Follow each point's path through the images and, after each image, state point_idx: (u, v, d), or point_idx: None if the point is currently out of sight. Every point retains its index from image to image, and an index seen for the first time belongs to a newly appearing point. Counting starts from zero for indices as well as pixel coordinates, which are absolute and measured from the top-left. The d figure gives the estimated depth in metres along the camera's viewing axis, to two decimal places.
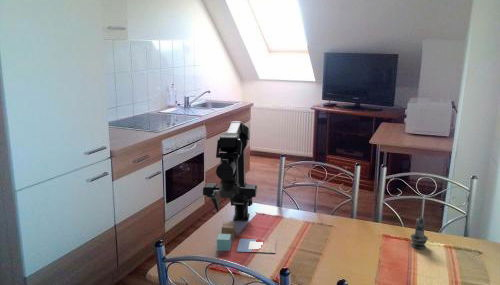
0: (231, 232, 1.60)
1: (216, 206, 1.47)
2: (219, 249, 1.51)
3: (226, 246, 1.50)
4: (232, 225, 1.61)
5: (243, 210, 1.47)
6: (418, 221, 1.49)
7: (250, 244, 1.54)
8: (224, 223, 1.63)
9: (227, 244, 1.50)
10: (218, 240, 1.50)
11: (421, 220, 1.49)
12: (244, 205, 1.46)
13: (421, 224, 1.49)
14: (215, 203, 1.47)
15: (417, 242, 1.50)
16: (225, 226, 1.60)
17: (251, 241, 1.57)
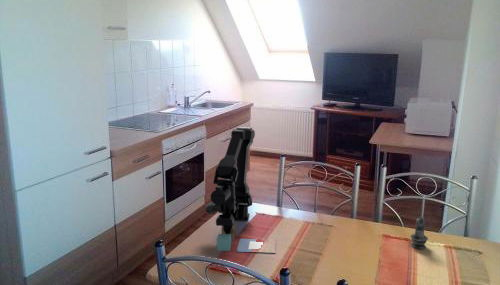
0: (231, 232, 1.60)
1: None
2: (219, 249, 1.51)
3: (226, 246, 1.50)
4: None
5: (225, 232, 1.60)
6: (418, 221, 1.49)
7: (250, 244, 1.54)
8: None
9: (227, 244, 1.50)
10: (218, 240, 1.50)
11: (421, 220, 1.49)
12: None
13: (421, 224, 1.49)
14: None
15: (417, 242, 1.50)
16: None
17: (251, 241, 1.57)
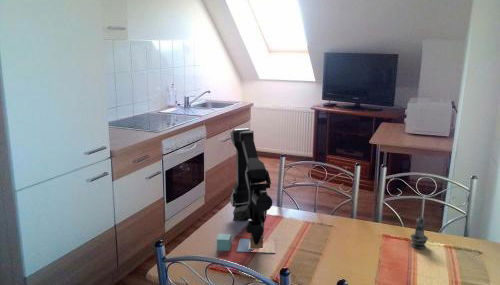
0: (260, 242, 1.51)
1: None
2: (219, 249, 1.51)
3: (226, 246, 1.50)
4: None
5: (254, 241, 1.49)
6: (418, 221, 1.49)
7: None
8: None
9: (227, 244, 1.50)
10: (218, 240, 1.50)
11: (421, 220, 1.49)
12: (252, 236, 1.49)
13: (421, 224, 1.49)
14: None
15: (417, 242, 1.50)
16: None
17: None
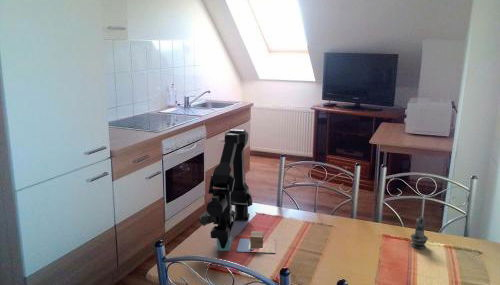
0: (260, 242, 1.51)
1: None
2: (219, 249, 1.51)
3: (226, 245, 1.50)
4: (261, 234, 1.52)
5: None
6: (418, 221, 1.49)
7: None
8: (252, 232, 1.54)
9: (227, 244, 1.50)
10: (218, 240, 1.50)
11: (421, 220, 1.49)
12: None
13: (421, 224, 1.49)
14: None
15: (417, 242, 1.50)
16: (254, 235, 1.51)
17: None
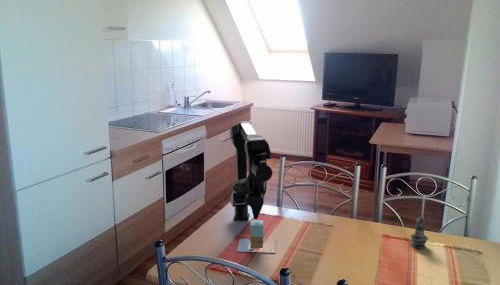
0: (260, 242, 1.51)
1: None
2: (252, 235, 1.50)
3: (259, 232, 1.50)
4: None
5: (253, 215, 1.46)
6: (418, 221, 1.49)
7: None
8: None
9: (261, 230, 1.50)
10: (251, 226, 1.49)
11: (421, 220, 1.49)
12: (252, 210, 1.45)
13: (421, 224, 1.49)
14: None
15: (417, 242, 1.50)
16: None
17: None
